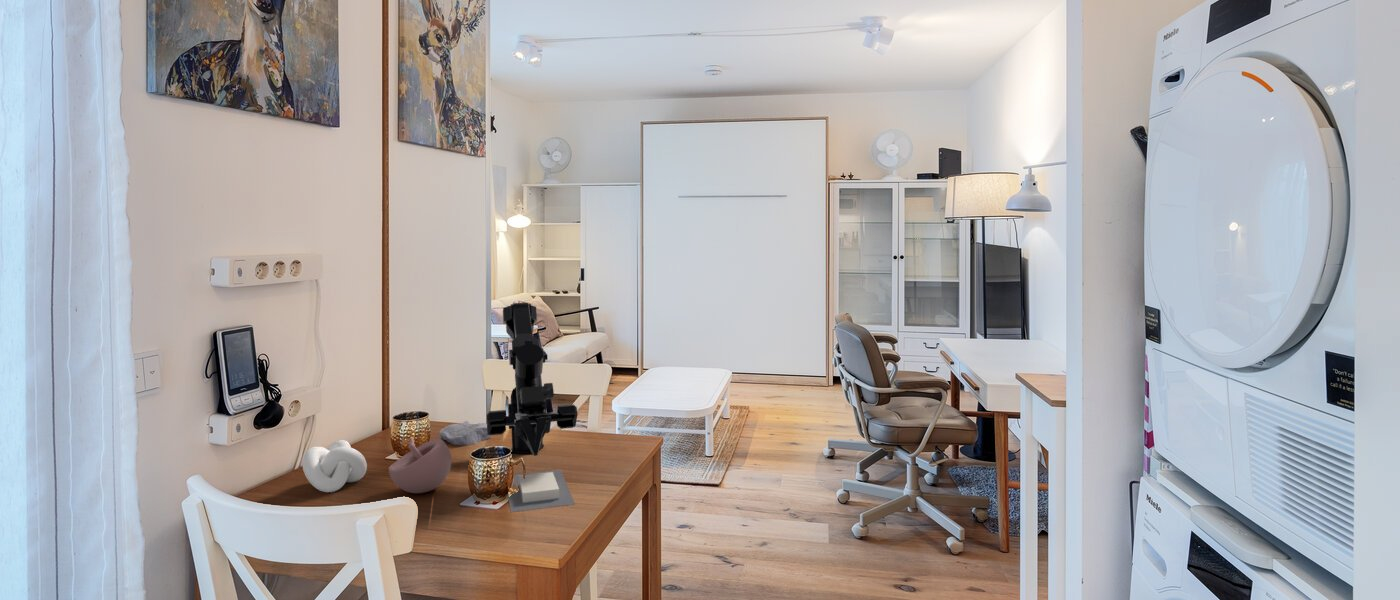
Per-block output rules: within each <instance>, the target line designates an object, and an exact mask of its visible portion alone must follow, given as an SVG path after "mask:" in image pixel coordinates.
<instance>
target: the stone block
mask: <svg viewBox="0 0 1400 600" xmlns="http://www.w3.org/2000/svg"><path fill="white" fill-rule="evenodd" d="M438 432H439V434H438V436H439V437H440V439H442V440H443V441H445V440H446V442H448V443H449V444H452V445H455V446H466V447H467V446H472V445H476V444H479V443H481V442H485V441H487V440H491V437H492V435H488V434H487V423H484V422H482V423H481V422H480V423H479V422H478V423H470V422H469V421H467V420H466V421H463V422H459V423H452V424H449V425H446V426H445V427H443V428H441V429H440V430H439V431H438Z"/></svg>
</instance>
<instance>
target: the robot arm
mask: <svg viewBox="0 0 1400 600" xmlns="http://www.w3.org/2000/svg"><path fill="white" fill-rule="evenodd" d="M537 313H538V312H537V306H535V305H532V303H529V302H513V303H512V304H510V305H507V306H505V307H503V308H502V323H503V325H505V330H506V334H507V335H508V336H509V337H510V338H511V339H512V340H511V349H509V350H508V362H509V366H512V369H513V370H514V380H515V387H514V388H512V391H511V394H510V403H508V404H507V410H506V409H500V410H489V411H488V412H487V413H486V425H487V434H488V435H491V436H498V435H504V433H505V432H506V431H507V427H508V429H509V430H511V450H512V452H514V453H513V454H527V453H530V455H533V456H534V457H535V456H538V455H539V452H540V450H541V449H543V448H544V447H545V444H544V443H543V439H544V436H546V435H545V434H549V433H550V431H551V423H552V422H556V426H557V427H558V428H560V429H561V430H562V429H564V430H565V429H572V428H575V427H576V426H577V420H578V419H577V418H578V415H579V413H578V407H577V406H576V405H575V404H573V403H572V404H561V405H557V411H551V412H547V401H546V400H553V399H554V395H555V392H554V385H553V382H548V383H543V382H542V374H543V369H544V368H543V365H544V364H545V363H546V361H547V360H548V358H549V357H548V353H547V352H546V351H545V350H544V347H541V343H540V340H539V338H537V337H536V336H534V333H533V332H534V326H535V323H537V320H538V316H537V315H538V314H537ZM506 426H507V427H506ZM539 449H540V450H539Z"/></svg>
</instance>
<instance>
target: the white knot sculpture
mask: <svg viewBox="0 0 1400 600" xmlns="http://www.w3.org/2000/svg"><path fill="white" fill-rule="evenodd" d="M301 465H302V470H303V473H304V475H305V477H306V479H307V481H308V482H309V484H310V485H312V487H314V488H315V489H317V490H318V491H320V492H324V493H329V492H330V493H334V492H337V491H338V490H340V489H341V488H342V487H343V486H344V485H345V484H346V483H355V482H358V481H360V480H361V479H363V478H364V476H365V474H367V469H368V464H367V460H366V458H365V456H364V455H363V454H362V453H361V452H360V451H359V450H357V449H355V448H353V447H351V445H350V443H349V442H348V441H347V440H344V439H339V440H336V441H334V442H333V443H331V445H329V447H328V448H325V447H323V446H312V447H311V448H308V449H307V450H306V451H305V453H304V454H303V456H302V460H301Z"/></svg>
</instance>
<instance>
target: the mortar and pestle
mask: <svg viewBox="0 0 1400 600" xmlns="http://www.w3.org/2000/svg"><path fill="white" fill-rule="evenodd" d="M408 449H409V450H410V451H408V452H407V453H405V454H404V455H403V456H402V457H400V458H398V459H397V460H396V461H395V462H393V463H392V464H391V465H390V466H389V467H388V473H389V477H390V478H391V480H392V481H393V483H394V484H395V485H396V486H397V488H398V489H401V490H402V491H404V492H407V493H411V494H424V493H428V492H431V491H433V490H435V489H437V488H438V487H439V486H441V485H442V483H444V481H446V478H448V476H449V474H450V472H451V467H452V454H451V451H450V449H449V447H448V445H447V444H446V442H445V441H444V440H443V439H442V438H441V437H440V438H439V437H438V438H434V439H431V440H430V441H426V442H425V443H424V444H421V445H419V446H418V447H416V444H415V439H414V438H413V437H409V438H408Z"/></svg>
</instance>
